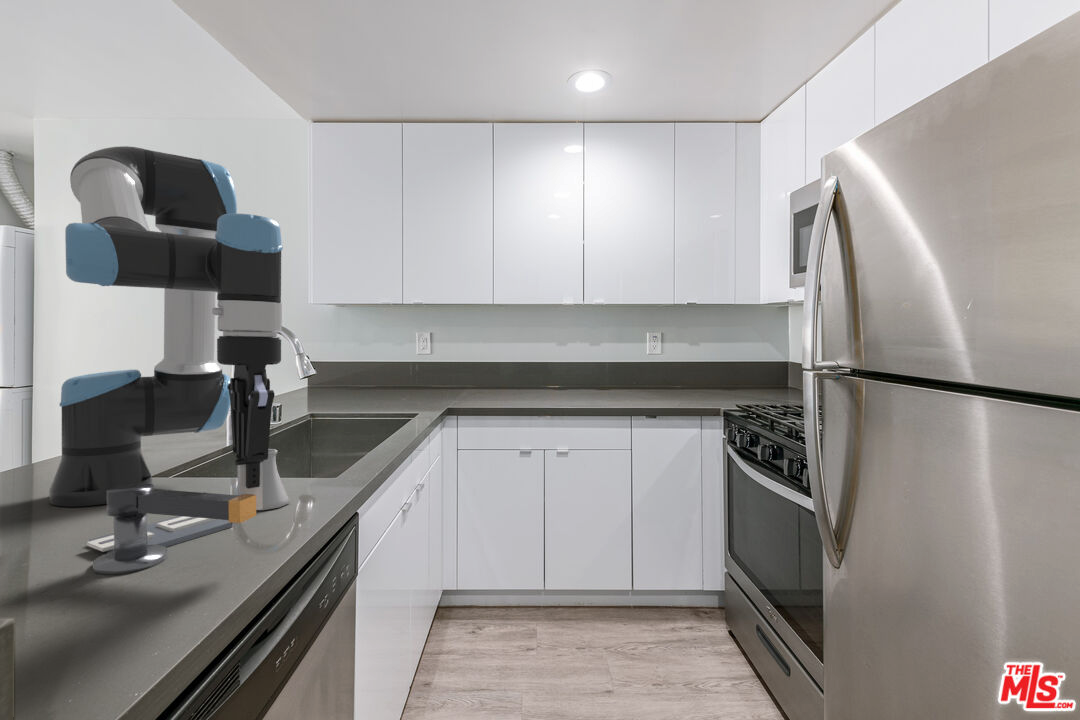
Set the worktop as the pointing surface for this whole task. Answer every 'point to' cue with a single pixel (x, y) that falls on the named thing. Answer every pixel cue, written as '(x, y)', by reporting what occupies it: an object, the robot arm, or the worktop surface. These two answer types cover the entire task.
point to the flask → (272, 484)
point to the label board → (169, 532)
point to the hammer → (179, 503)
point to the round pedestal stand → (130, 548)
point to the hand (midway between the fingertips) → (250, 509)
